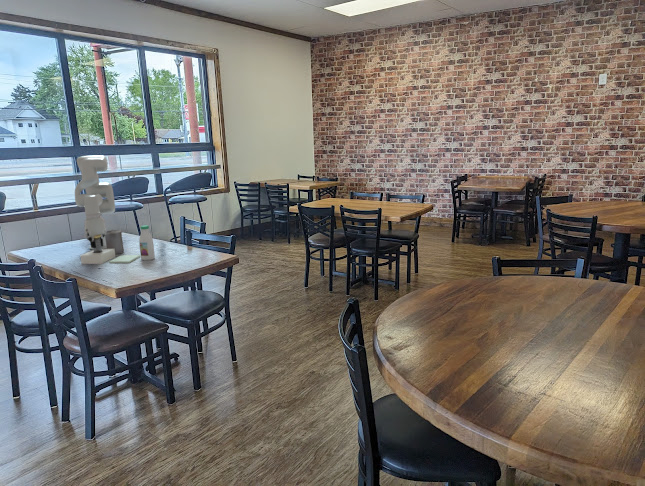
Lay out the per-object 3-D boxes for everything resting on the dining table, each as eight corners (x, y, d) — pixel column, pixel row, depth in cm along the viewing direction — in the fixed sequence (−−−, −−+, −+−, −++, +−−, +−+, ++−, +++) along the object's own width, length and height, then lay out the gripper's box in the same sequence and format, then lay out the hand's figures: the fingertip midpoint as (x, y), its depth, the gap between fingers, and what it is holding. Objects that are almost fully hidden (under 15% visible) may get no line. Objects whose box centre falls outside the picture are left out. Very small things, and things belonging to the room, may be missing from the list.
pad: (121, 257, 276) (120, 255, 276) (140, 256, 275) (140, 255, 275) (109, 263, 262) (109, 261, 262) (129, 263, 262) (129, 261, 261)
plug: (99, 255, 273) (96, 234, 270) (105, 256, 271) (103, 234, 268) (91, 257, 268) (88, 235, 265) (97, 258, 266) (94, 236, 263)
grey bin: (113, 250, 293) (110, 227, 289) (127, 251, 291) (124, 228, 287) (103, 254, 284) (100, 231, 280) (117, 254, 282) (114, 231, 278)
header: (96, 256, 278) (95, 248, 277) (115, 256, 277) (114, 248, 276) (81, 263, 262) (80, 255, 261) (101, 263, 262) (100, 255, 260)
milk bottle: (151, 256, 275) (148, 224, 271) (157, 258, 270) (153, 225, 266) (139, 259, 270) (135, 226, 266) (144, 261, 265) (140, 227, 260)
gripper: (101, 213, 273) (105, 243, 277) (75, 218, 258) (80, 249, 262) (110, 214, 269) (113, 244, 274) (84, 219, 255) (88, 250, 259)
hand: (97, 246), depth 268 cm, fingers closed on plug, 4 cm apart
